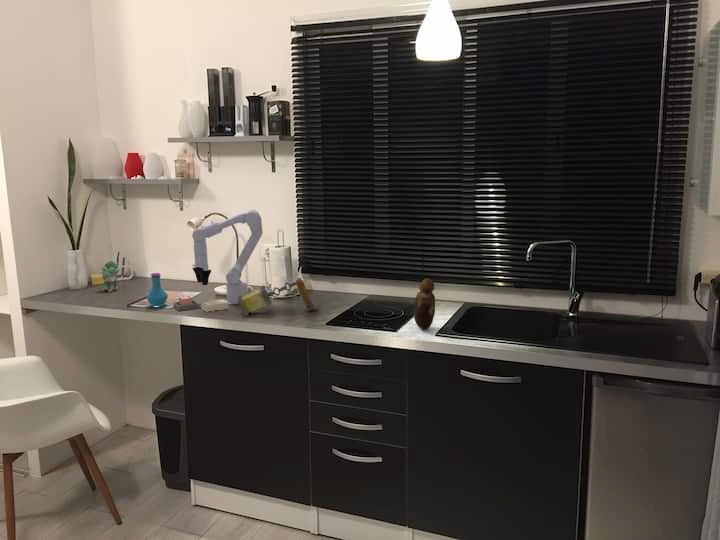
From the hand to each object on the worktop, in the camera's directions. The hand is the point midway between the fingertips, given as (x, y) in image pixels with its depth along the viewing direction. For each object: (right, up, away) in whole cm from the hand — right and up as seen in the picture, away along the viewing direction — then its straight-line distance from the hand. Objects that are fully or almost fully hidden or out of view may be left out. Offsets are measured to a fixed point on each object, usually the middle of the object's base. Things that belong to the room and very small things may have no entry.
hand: (202, 283), depth 287 cm
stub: (-6, -10, -5) cm, 13 cm away
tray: (-6, -11, -5) cm, 13 cm away
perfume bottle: (-20, -10, -1) cm, 23 cm away
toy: (-55, -4, +33) cm, 64 cm away
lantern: (+37, -12, -16) cm, 42 cm away
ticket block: (+8, -11, -9) cm, 16 cm away
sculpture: (+98, -17, -44) cm, 109 cm away
